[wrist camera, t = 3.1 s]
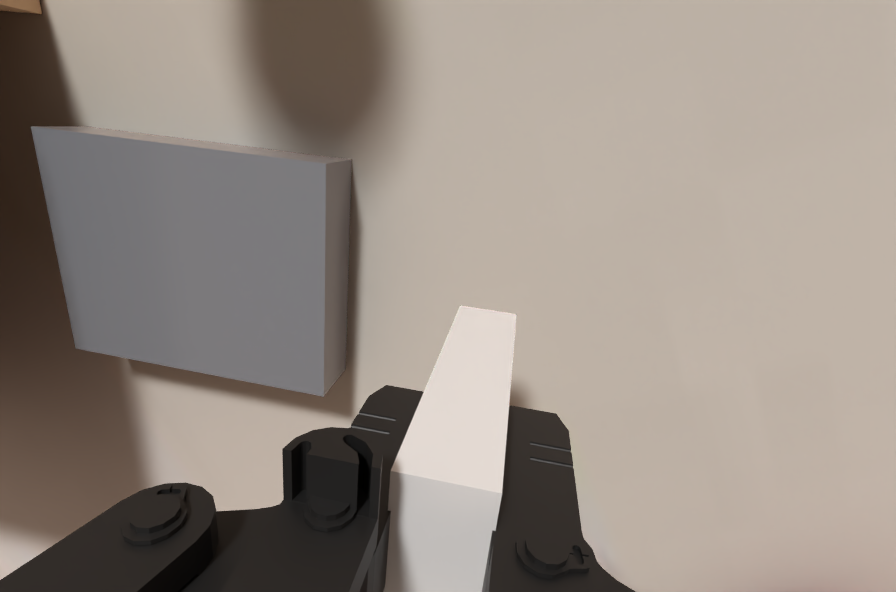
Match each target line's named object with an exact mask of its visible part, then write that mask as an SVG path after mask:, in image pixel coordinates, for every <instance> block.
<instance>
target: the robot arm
mask: <svg viewBox="0 0 896 592" xmlns="http://www.w3.org/2000/svg"><path fill="white" fill-rule="evenodd" d="M516 315H517V314H512V313H506V312H499V311H493V310H486V309H480V308H473V307H467V306H461V305H460V307H459V309H458V312H457V314H456V317H455V319H454V321H453V324H452V326H451V328H450V331H449V333H448V336H447V338H446V340H445V343H444V345H443V347H442V350H441V352H440V355H439V357H438V359H437V362H436V364H435V366H434V369H433V371H432V374H431V376H430V378H429V381H428V383H427V386H426V388H425V390H424V392H422V391H416V390H411V389H405V388H399V387H394V386H388V385H386V386H384V387H383V388H381V389H380V390H378V391H376V392H375V393H373V394H372V395H370V396H369V397H368V399H367V400H366V402H365V403H364V405H363V407H362V408H361V410H360V411H359V415H357V416H356V418H355V419H354V421H353V423H352V424H351V428H334V427H330V428H324V429H318V430H312V431H310V432H308V433H305V434H303V435H301V436H299V437H296V438H295V439H294V440H292V441H291V442H290V443H289V444H288V445H287V446H285V447H284V448H283V490H284V500H283V501H282V503H281V504H280V505H276V506H273V507H268V508H261V509H252V510H235V511H217V512H216V508H215V503H214V499H213V496H212V495H211V494H210V493H209V492H207V491H206V490H205V489H204V488H203V487H200V486H196V485H192V484H188V483H170V484H162V485H159V486H155V487H152V488H148V489H144V490H142V491H140V492H138V493H136V494H134V495H132V496H130V497H128V498H126V499H124V500H122V501H120V502H119V503H117V504H116V505H114V506H113V507H111V508H110V509H108V510H107V511H105V512H104V513H102V514H101V515H99V516H97V517H96V518H94V519H93V520H91V521H90V522H88V523H87V524H85V525H84V526H82V527H81V528H79V529H78V530H76V531H75V532H73V533H72V534H70V535H69V536H67V537H65V538H64V539H62V540H61V541H59V542H58V543H56V544H55V545H53V546H52V547H50V548H49V549H47V550H46V551H44V552H43V553H41V554H40V555H38V556H36V557H35V558H33V559H32V560H30V561H29V562H27V563H26V564H24V565H23V566H21V567H20V568H18V569H17V570H15V571H14V572H12V573H11V574H9V575H7V576H6V577H4V578H3V579H1V580H0V592H635V591H634V590H632V589H630V588H628V587H627V586H625V585H624V584H622V583H620V582H619V581H617V580H616V579H614V578H613V577H612V576H611V575H610V574H609V573H607V572H606V571H605V570H604V569H603V568H602V567H601V566H600V565H599V564H598V562H597V561H596V558H595V555H594V553H593V550H592V548H591V547H590V546H589V545H588V543H587V542H586V541H585V540H584V538H583V535H582V531H581V523H580V515H579V508H578V500H577V492H576V484H575V477H574V469H573V461H572V453H571V445H570V438H569V431H568V429H567V428H566V427H565V425H564V424H563V422H562V421H561V420H560V418H559V417H558V416H557V414H555V413H549V412H544V411H538V410H532V409H527V408H521V407H516V406H510V405H509V401H510V389H511V377H512V364H513V352H514V339H515V327H516Z"/></svg>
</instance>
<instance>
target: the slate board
mask: <svg viewBox="0 0 896 592" xmlns="http://www.w3.org/2000/svg"><path fill="white" fill-rule="evenodd" d="M31 130H32V135H33V140H34V145H35V150H36V155H37V160H38V165H39V170H40V175H41V180H42V185H43V190H44V195H45V200H46V205H47V209H48V214H49V219H50V224H51V229H52V234H53V239H54V244H55V249H56V254H57V259H58V264H59V269H60V274H61V279H62V284H63V289H64V293H65V298H66V303H67V308H68V313H69V318H70V323H71V328H72V333H73V338H74V343H75V348H76V349H81V350H86V351H91V352H96V353H101V354H106V355H111V356H117V357H122V358H127V359H132V360H137V361H142V362H147V363H153V364H158V365H163V366H168V367H173V368H178V369H183V370H189V371H194V372H199V373H204V374H209V375H214V376H219V377H225V378H230V379H235V380H240V381H245V382H250V383H255V384H261V385H266V386H271V387H276V388H281V389H286V390H291V391H297V392H302V393H307V394H312V395H317V396H322V397H324V396H325V395H326V393H327V392H328V391H329V390H330V388H331V387H332V386H333V384H334V383H335V382H336V381H337V379H338V378H339V377H340V376H341V374H342V373H343V372H344V371H345V369H346V339H347V305H348V271H349V236H350V202H351V168H352V159H344V158H336V157H328V156H320V155H312V154H304V153H296V152H288V151H280V150H272V149H264V148H256V147H248V146H240V145H232V144H224V143H216V142H208V141H200V140H192V139H184V138H176V137H168V136H160V135H152V134H144V133H136V132H128V131H120V130H112V129H104V128H96V127H81V126H31Z"/></svg>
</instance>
